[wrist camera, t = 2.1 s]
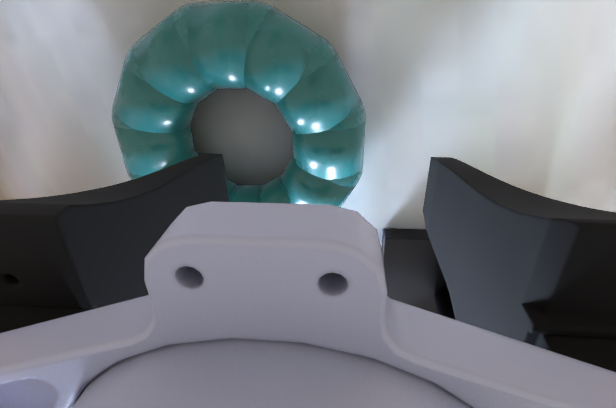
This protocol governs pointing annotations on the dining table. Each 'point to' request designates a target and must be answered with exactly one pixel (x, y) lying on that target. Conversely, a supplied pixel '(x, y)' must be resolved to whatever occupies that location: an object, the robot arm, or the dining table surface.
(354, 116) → the ring
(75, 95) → the dining table surface
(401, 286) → the hook stand
